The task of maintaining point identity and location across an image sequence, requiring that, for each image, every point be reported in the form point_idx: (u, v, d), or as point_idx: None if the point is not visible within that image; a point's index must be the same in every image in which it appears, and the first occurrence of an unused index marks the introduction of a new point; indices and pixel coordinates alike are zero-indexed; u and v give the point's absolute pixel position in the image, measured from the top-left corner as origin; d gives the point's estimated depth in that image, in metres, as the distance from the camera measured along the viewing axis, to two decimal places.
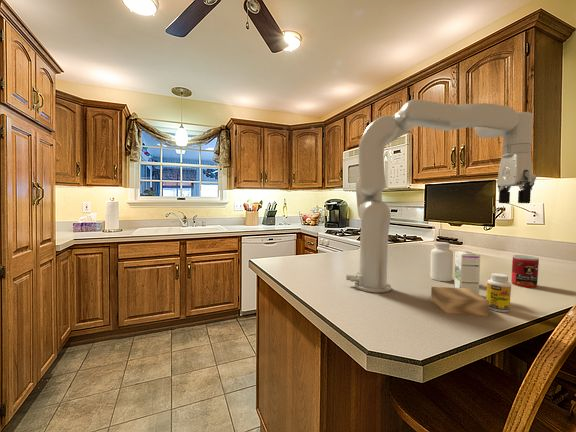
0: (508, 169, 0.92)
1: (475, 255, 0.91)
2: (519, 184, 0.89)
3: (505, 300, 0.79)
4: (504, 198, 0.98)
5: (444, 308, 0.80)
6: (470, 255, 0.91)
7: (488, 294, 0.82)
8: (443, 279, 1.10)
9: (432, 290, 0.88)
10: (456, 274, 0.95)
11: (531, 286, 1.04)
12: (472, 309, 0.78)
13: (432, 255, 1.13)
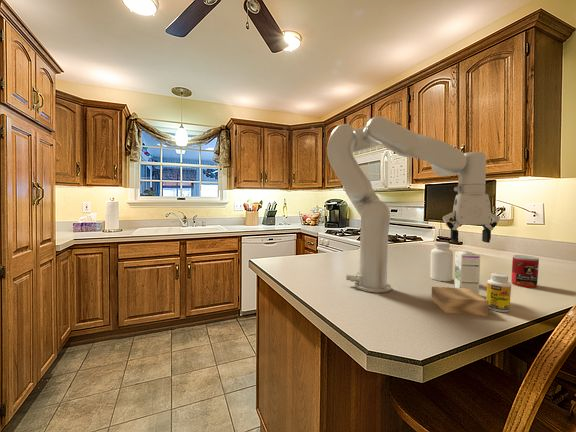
0: (480, 209, 0.90)
1: (475, 255, 0.91)
2: (487, 224, 0.91)
3: (505, 300, 0.79)
4: None
5: (443, 308, 0.80)
6: (470, 255, 0.91)
7: (488, 294, 0.82)
8: (443, 279, 1.10)
9: (432, 290, 0.89)
10: (456, 274, 0.95)
11: (531, 286, 1.04)
12: (472, 309, 0.78)
13: (432, 255, 1.13)
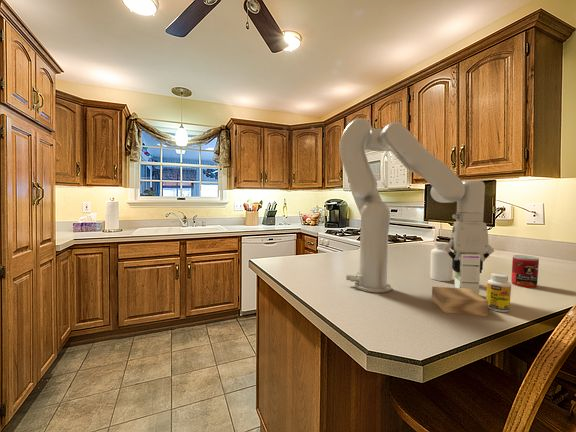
0: (477, 237, 0.90)
1: (475, 255, 0.91)
2: (481, 254, 0.92)
3: (505, 300, 0.79)
4: None
5: (442, 308, 0.80)
6: (470, 255, 0.91)
7: (488, 294, 0.82)
8: (443, 279, 1.10)
9: (433, 290, 0.89)
10: (456, 274, 0.95)
11: (531, 286, 1.04)
12: (471, 309, 0.78)
13: (432, 255, 1.13)
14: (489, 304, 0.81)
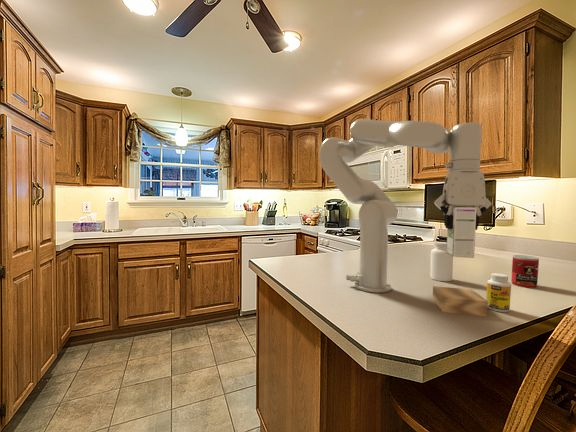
0: (473, 188, 0.79)
1: (471, 208, 0.79)
2: (477, 208, 0.80)
3: (505, 300, 0.79)
4: None
5: (441, 307, 0.80)
6: (465, 208, 0.79)
7: (488, 294, 0.82)
8: (443, 279, 1.10)
9: (433, 290, 0.89)
10: (449, 232, 0.84)
11: (531, 286, 1.04)
12: (470, 309, 0.78)
13: (432, 255, 1.13)
14: (489, 304, 0.81)
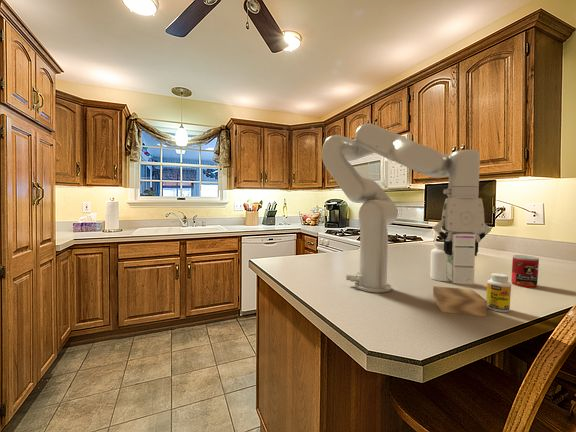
0: (472, 215, 0.79)
1: (470, 235, 0.79)
2: (476, 234, 0.80)
3: (505, 300, 0.79)
4: None
5: (441, 307, 0.80)
6: (464, 235, 0.80)
7: (488, 294, 0.82)
8: (443, 279, 1.10)
9: (433, 289, 0.89)
10: (448, 257, 0.84)
11: (531, 286, 1.04)
12: (470, 309, 0.78)
13: (432, 255, 1.13)
14: (489, 304, 0.81)
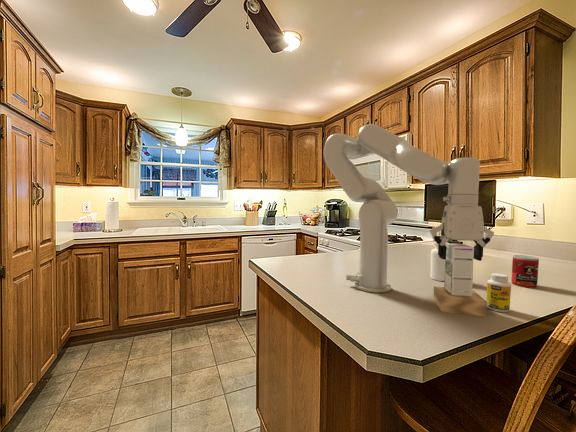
0: (471, 222, 0.79)
1: (468, 247, 0.80)
2: (479, 240, 0.80)
3: (505, 300, 0.79)
4: None
5: (440, 307, 0.81)
6: (463, 247, 0.80)
7: (488, 294, 0.82)
8: (443, 279, 1.10)
9: (434, 290, 0.89)
10: (447, 269, 0.84)
11: (531, 286, 1.04)
12: (469, 309, 0.78)
13: (432, 255, 1.13)
14: (489, 304, 0.81)
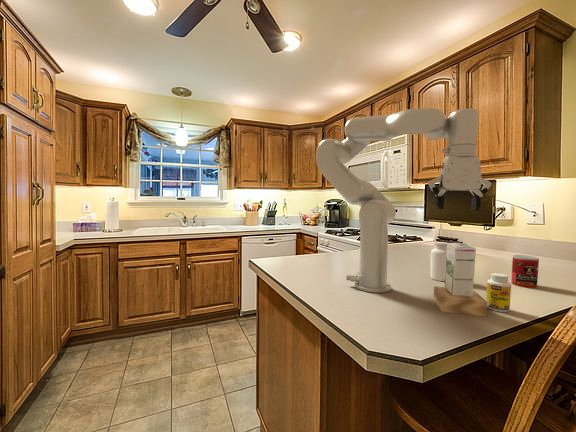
0: (469, 172, 0.81)
1: (470, 248, 0.79)
2: (477, 190, 0.82)
3: (505, 300, 0.79)
4: None
5: (440, 307, 0.81)
6: (465, 248, 0.79)
7: (488, 294, 0.82)
8: (443, 279, 1.10)
9: (434, 290, 0.89)
10: (448, 269, 0.84)
11: (531, 286, 1.04)
12: (469, 309, 0.78)
13: (432, 255, 1.13)
14: (489, 304, 0.81)
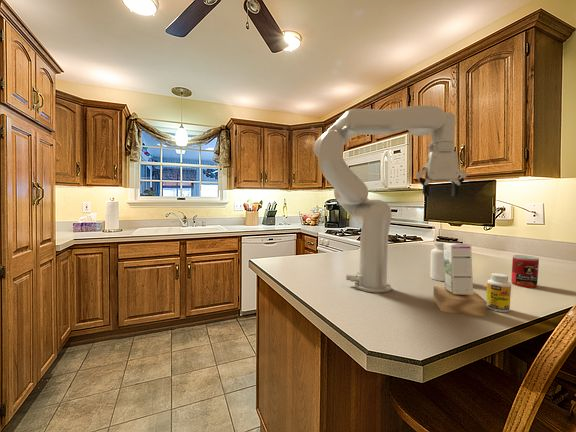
0: (449, 165, 0.99)
1: (466, 245, 0.81)
2: (455, 179, 1.00)
3: (505, 300, 0.79)
4: None
5: (440, 307, 0.81)
6: (460, 245, 0.81)
7: (488, 294, 0.82)
8: (443, 279, 1.10)
9: (434, 290, 0.89)
10: (446, 269, 0.85)
11: (531, 286, 1.04)
12: (469, 309, 0.78)
13: (432, 255, 1.13)
14: (489, 304, 0.81)
